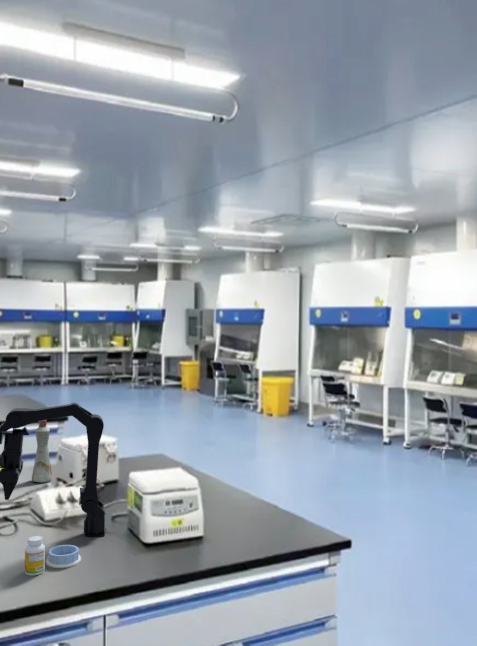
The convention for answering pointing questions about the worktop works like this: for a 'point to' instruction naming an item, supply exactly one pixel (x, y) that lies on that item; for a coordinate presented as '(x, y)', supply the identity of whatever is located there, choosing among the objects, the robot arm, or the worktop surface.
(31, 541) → the supplement bottle
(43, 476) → the bottle
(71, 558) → the holder
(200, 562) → the worktop surface
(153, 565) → the worktop surface
